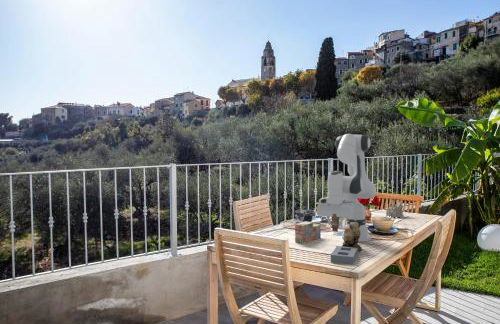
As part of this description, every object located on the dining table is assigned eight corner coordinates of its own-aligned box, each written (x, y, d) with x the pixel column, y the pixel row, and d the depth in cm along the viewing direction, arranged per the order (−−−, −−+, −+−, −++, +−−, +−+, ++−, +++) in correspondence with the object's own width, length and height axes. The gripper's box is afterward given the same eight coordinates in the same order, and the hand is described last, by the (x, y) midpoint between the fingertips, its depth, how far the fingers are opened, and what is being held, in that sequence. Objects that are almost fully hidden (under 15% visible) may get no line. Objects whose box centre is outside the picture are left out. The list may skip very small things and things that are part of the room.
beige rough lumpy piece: (346, 245, 252) (347, 218, 252) (365, 248, 246) (365, 220, 245) (336, 251, 237) (336, 223, 237) (355, 254, 231) (356, 225, 230)
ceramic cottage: (400, 214, 357) (399, 198, 356) (406, 218, 340) (405, 201, 339) (382, 215, 358) (381, 199, 357) (387, 219, 342) (386, 202, 340)
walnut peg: (331, 230, 224) (332, 212, 223) (339, 230, 222) (339, 213, 222) (330, 231, 220) (330, 213, 219) (338, 232, 218) (338, 214, 218)
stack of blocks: (313, 236, 276) (313, 219, 275) (320, 238, 272) (320, 220, 271) (294, 242, 260) (294, 223, 259) (302, 244, 256) (302, 225, 255)
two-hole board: (336, 252, 235) (336, 245, 235) (357, 254, 230) (357, 247, 230) (330, 262, 216) (330, 254, 216) (353, 264, 212) (353, 257, 212)
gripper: (355, 200, 219) (355, 225, 220) (318, 198, 227) (318, 222, 228) (353, 201, 213) (353, 227, 214) (316, 199, 221) (316, 224, 222)
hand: (335, 224), depth 221 cm, fingers closed on walnut peg, 4 cm apart
